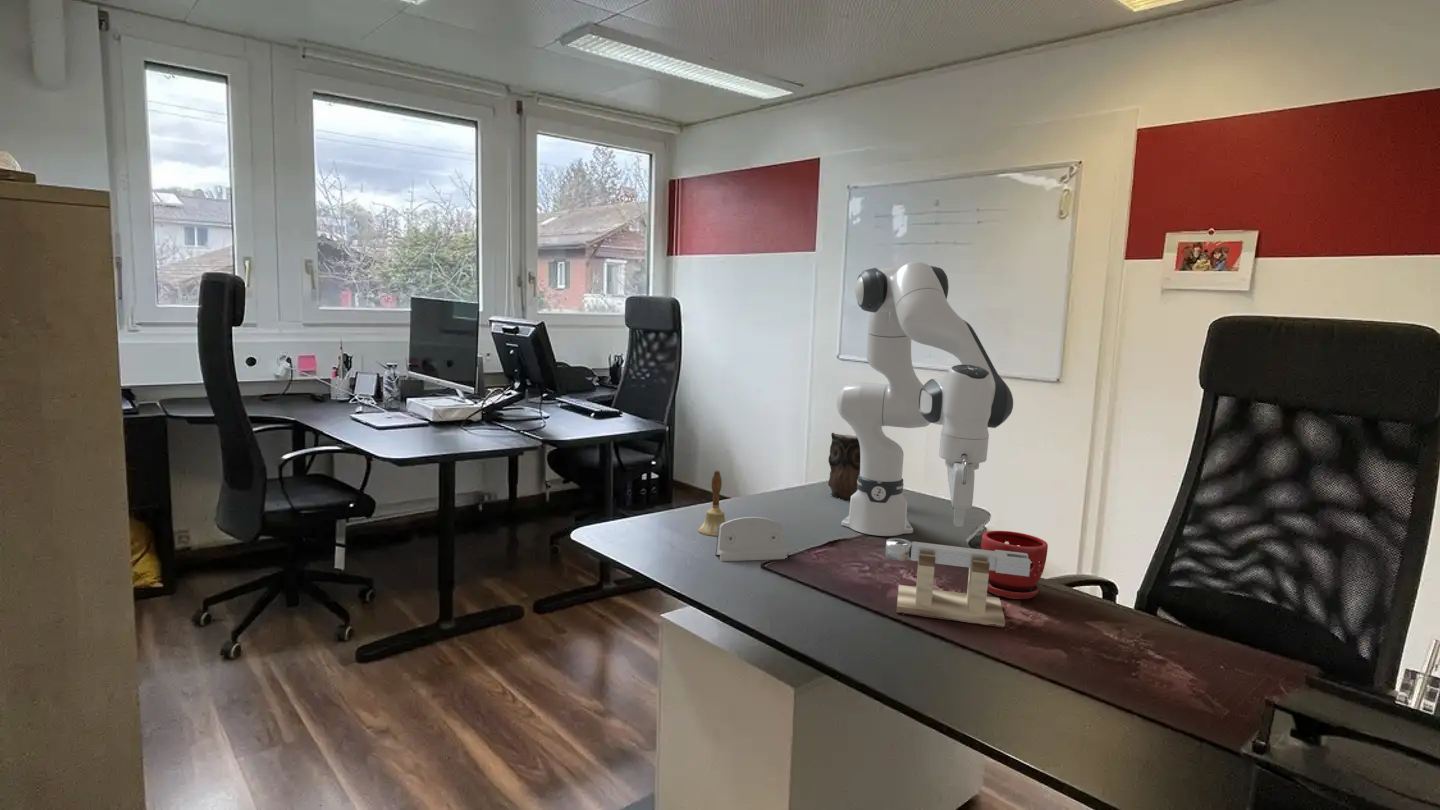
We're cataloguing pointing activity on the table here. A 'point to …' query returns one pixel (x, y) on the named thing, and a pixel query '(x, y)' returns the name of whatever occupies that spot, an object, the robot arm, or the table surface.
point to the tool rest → (951, 596)
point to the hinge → (750, 540)
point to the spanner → (959, 556)
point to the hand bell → (714, 509)
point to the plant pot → (1027, 544)
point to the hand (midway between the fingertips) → (957, 518)
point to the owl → (844, 465)
